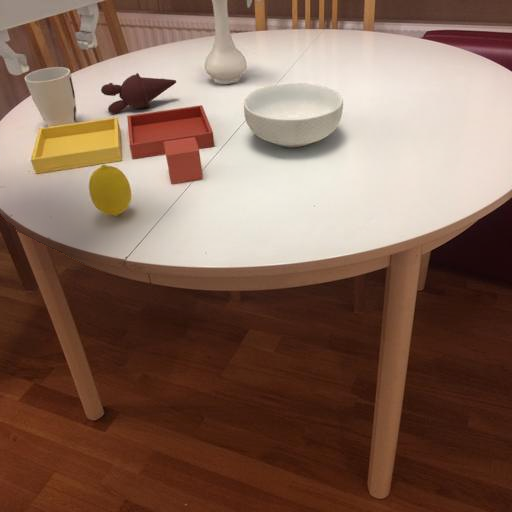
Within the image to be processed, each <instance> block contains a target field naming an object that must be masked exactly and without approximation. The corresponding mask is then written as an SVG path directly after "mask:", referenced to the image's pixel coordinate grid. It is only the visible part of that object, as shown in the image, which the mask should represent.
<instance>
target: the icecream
mask: <svg viewBox="0 0 512 512" xmlns="http://www.w3.org/2000/svg"><path fill="white" fill-rule="evenodd" d="M175 84H177V80H176V79H168V78H154V77H144V76H143V77H142V76H140V74H139V73H138V72H136V73H135V74H132V75H130V76H128V77H127V78H126V79H125V80H124V81H122V83H121V85H120V84H114V83H113V82H109V83H107V84H106V83H105V84H104V85H102V86H101V88H100V89H101V90H100V92H101V93H102V94H103V95H104V96H108V97H116V96H117V95H119V97H118V98H120V99H119V100H116V101H114V102H112V103H111V104H109V105H108V107H107V111H108V113H110V114H112V115H114V114H118V113H120V112H122V111H123V110H125V109H126V108H127V107H128V106H129V107H131V108H133V109H144V108H150V102H152V101H153V100H155V99H157V97H159V96H160V95H162V94H163V93H164V92H165V91H167V90H168V89H170V88H172V87H173V86H174V85H175Z"/></svg>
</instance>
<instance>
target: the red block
mask: <svg viewBox="0 0 512 512" xmlns="http://www.w3.org/2000/svg"><path fill="white" fill-rule="evenodd" d="M164 147H165V153H166V154H165V158H166V163H167V168H168V170H167V171H168V175H169V179H170V184H171V185H175V184H176V185H177V184H180V183H187V182H193V181H199V180H204V176H203V167H202V162H201V154H200V149H199V148H198V145H197V142H196V139H195V137H191V138H185V139H178V140H171V141H165V142H164Z"/></svg>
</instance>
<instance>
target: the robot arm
mask: <svg viewBox="0 0 512 512" xmlns="http://www.w3.org/2000/svg"><path fill="white" fill-rule="evenodd" d="M105 1H106V0H0V57H2V59H3V61H4V63H5V66H6V69H7V71H8V73H9V74H10V75H13V76H21V75H22V74H25V73H28V72H29V71H30V66H29V65H28V60H27V57H26V54H22V53H18V52H15V51H14V49H12V48H11V47H10V45H8V42H10V41H11V38H10V35H9V31H8V30H9V29H12V28H13V29H14V28H16V27H19V26H22V25H26V24H29V23H33V22H36V21H40V20H43V19H47V18H50V17H53V16H57V15H60V14H64V13H68V12H70V11H75V10H76V12H77V15H81V17H80V18H81V19H80V28H79V31H77V32H75V33H74V35H75V39H76V40H77V46H78V48H79V49H80V50H85V51H89V50H91V49H94V48H97V47H98V44H99V43H98V40H97V35H96V30H97V26H98V21H99V17H100V10H99V5H98V3H102V2H105Z"/></svg>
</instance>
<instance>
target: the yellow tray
mask: <svg viewBox="0 0 512 512" xmlns="http://www.w3.org/2000/svg"><path fill="white" fill-rule="evenodd" d="M33 146H34V147H33V150H32V154H31V158H30V162H31V164H32V169H33V170H34V173H35V175H37V174H43V173H50V172H56V171H63V170H64V171H65V170H69V169H70V170H71V169H77V168H83V167H88V166H89V167H90V166H95V165H104V164H109V163H110V164H111V163H116V162H121V161H122V160H123V157H122V155H123V153H122V135H121V127H120V123H119V117H118V116H115V117H109V118H102V119H101V118H100V119H95V120H94V119H93V120H87V121H80V122H76V123H73V124H66V125H59V126H52V127H49V126H46V127H39V128H38V131H37V134H36V138H35V142H34V145H33Z"/></svg>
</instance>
